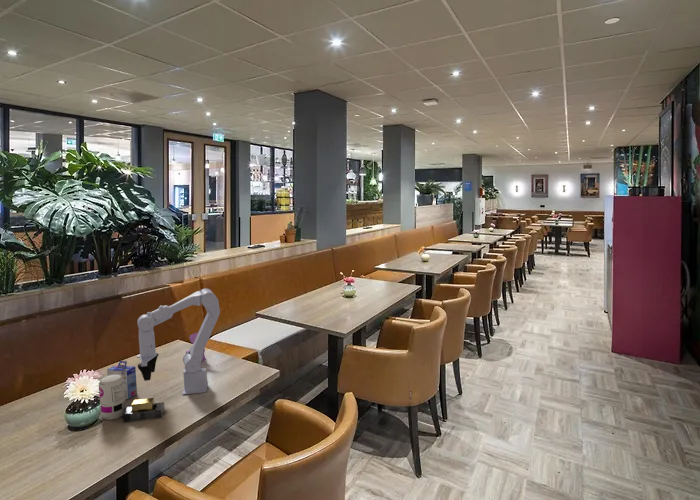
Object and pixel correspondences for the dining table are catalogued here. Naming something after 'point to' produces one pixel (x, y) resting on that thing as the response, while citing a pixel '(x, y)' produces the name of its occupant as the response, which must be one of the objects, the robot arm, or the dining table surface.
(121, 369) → the ink cartridge box
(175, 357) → the dining table surface
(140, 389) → the dining table surface
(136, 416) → the rail
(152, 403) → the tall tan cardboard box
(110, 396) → the supplement can
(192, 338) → the toy chair
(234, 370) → the dining table surface
